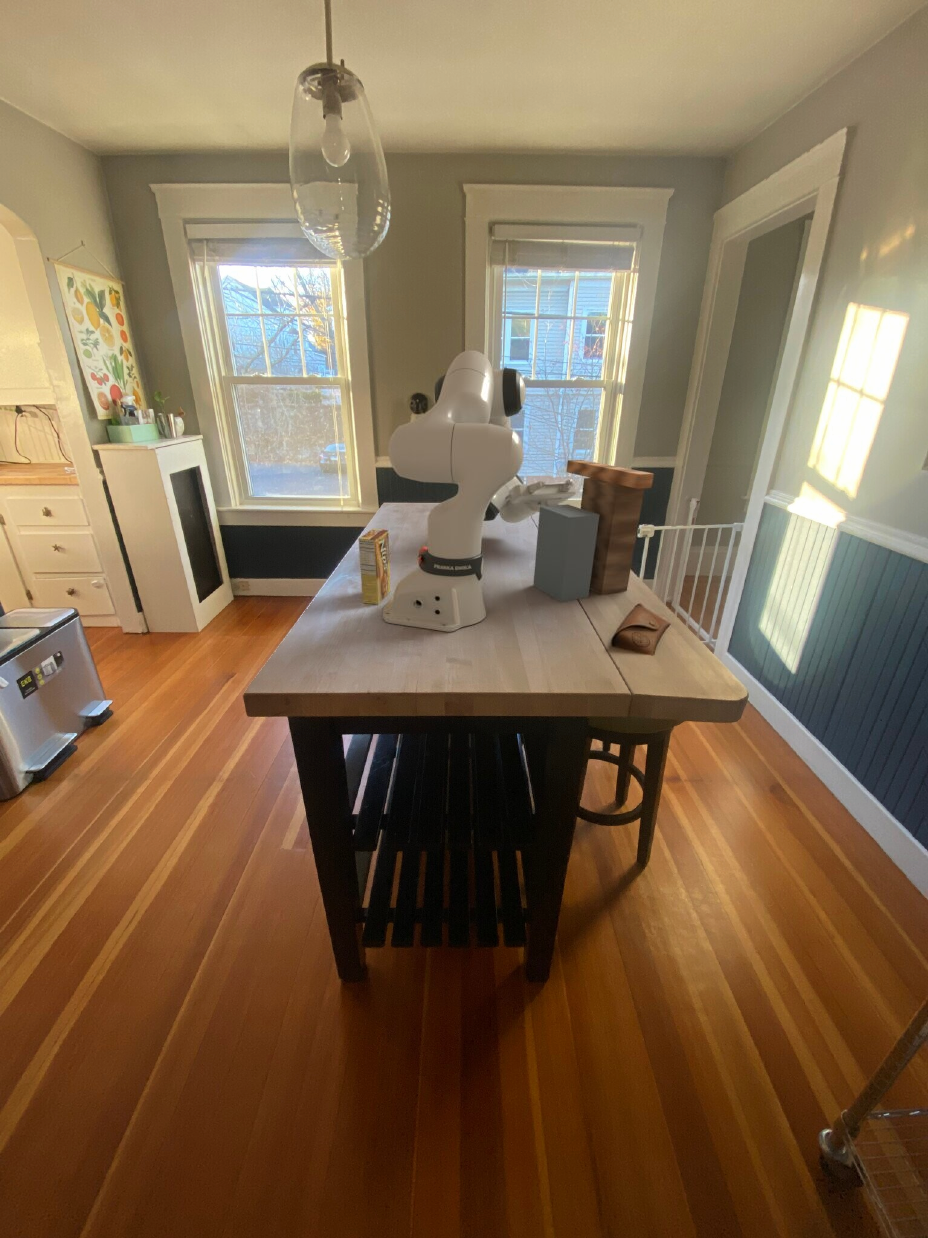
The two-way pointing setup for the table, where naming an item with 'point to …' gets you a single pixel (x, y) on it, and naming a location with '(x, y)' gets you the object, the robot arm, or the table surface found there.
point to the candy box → (374, 565)
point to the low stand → (565, 551)
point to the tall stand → (612, 532)
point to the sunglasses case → (640, 631)
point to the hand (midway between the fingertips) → (557, 482)
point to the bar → (611, 474)
